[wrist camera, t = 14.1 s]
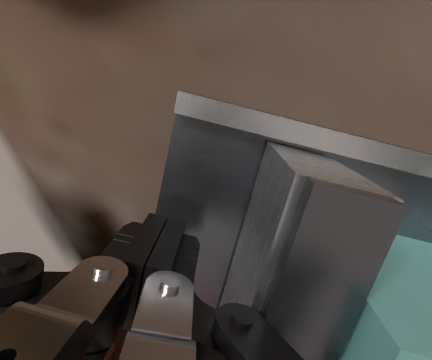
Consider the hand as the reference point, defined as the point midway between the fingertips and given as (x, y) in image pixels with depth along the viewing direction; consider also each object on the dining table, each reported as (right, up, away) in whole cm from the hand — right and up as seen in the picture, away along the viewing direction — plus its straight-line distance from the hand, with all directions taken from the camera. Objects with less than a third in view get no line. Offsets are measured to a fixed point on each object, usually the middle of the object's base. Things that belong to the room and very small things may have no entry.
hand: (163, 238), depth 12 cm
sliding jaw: (+4, -1, +1) cm, 4 cm away
